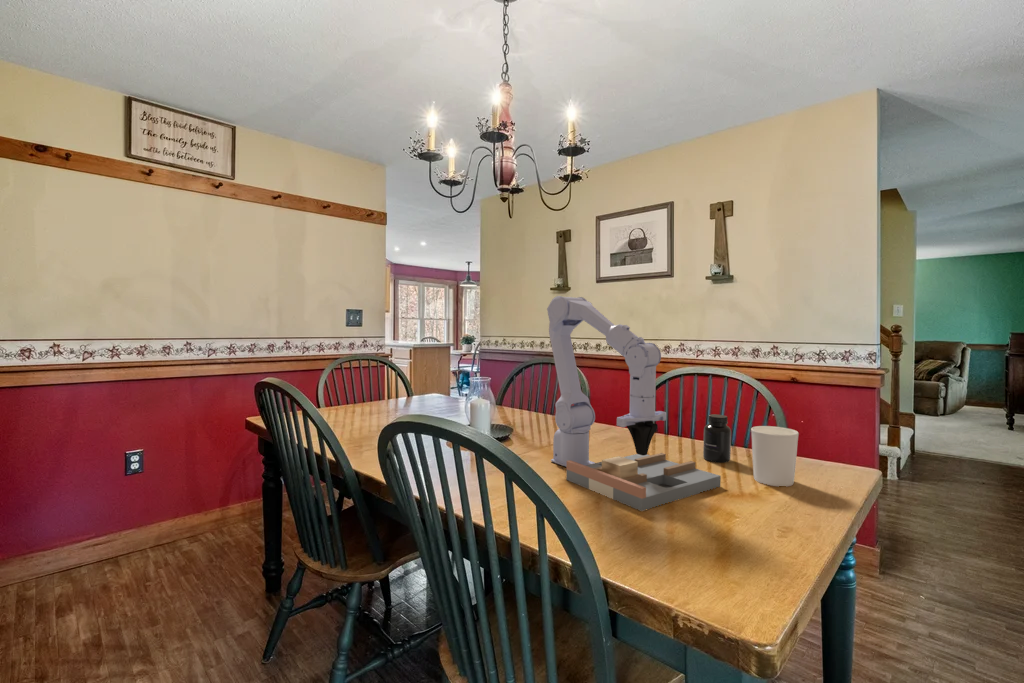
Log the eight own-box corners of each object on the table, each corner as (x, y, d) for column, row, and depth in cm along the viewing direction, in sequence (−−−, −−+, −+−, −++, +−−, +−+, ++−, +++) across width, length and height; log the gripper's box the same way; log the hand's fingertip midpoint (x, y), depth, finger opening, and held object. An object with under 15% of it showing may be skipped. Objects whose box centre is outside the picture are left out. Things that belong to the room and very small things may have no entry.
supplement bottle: (704, 462, 129) (705, 417, 128) (702, 455, 135) (702, 412, 135) (732, 464, 127) (733, 418, 126) (728, 457, 133) (729, 414, 133)
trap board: (566, 479, 114) (566, 460, 114) (641, 462, 129) (641, 445, 128) (641, 511, 95) (641, 488, 95) (720, 486, 109) (720, 466, 109)
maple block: (601, 477, 108) (601, 459, 108) (619, 473, 111) (619, 456, 111) (619, 484, 103) (619, 465, 103) (637, 479, 106) (637, 461, 106)
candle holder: (806, 488, 108) (808, 435, 108) (762, 487, 108) (763, 435, 108) (783, 474, 118) (784, 425, 118) (742, 474, 118) (743, 425, 118)
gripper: (633, 401, 104) (632, 463, 104) (677, 395, 112) (676, 453, 112) (610, 396, 110) (609, 455, 110) (653, 391, 118) (652, 446, 118)
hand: (641, 454), depth 112 cm, fingers closed
